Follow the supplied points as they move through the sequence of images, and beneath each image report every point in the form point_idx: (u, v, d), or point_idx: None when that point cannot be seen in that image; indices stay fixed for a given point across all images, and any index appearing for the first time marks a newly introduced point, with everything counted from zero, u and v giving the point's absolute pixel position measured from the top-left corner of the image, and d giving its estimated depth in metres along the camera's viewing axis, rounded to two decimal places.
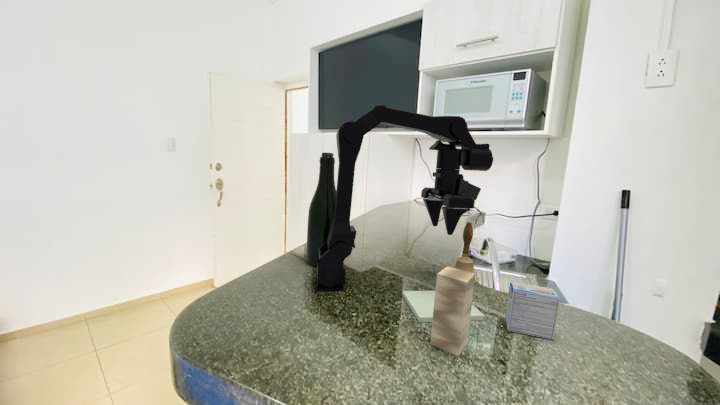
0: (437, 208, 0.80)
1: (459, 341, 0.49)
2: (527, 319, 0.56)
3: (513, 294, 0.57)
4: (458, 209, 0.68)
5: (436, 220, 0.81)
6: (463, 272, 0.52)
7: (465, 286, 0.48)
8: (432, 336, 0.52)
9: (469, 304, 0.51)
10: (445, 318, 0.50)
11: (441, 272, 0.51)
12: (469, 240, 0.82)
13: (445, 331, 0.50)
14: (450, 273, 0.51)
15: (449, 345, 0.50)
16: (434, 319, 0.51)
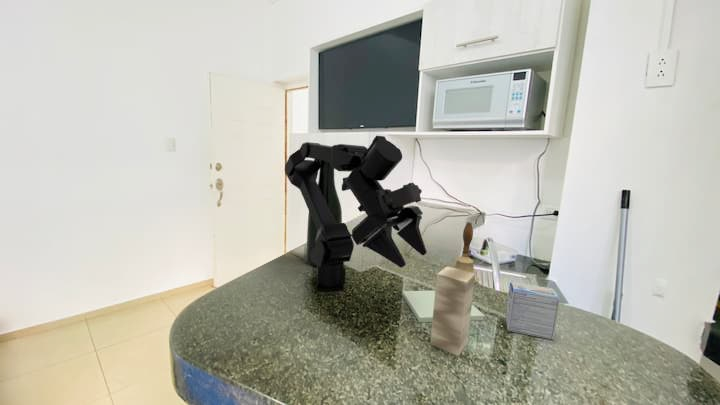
0: (412, 233, 0.61)
1: (459, 341, 0.49)
2: (527, 319, 0.56)
3: (513, 294, 0.57)
4: (371, 238, 0.52)
5: (420, 246, 0.60)
6: (463, 272, 0.52)
7: (465, 286, 0.48)
8: (432, 336, 0.52)
9: (469, 304, 0.51)
10: (445, 318, 0.50)
11: (441, 272, 0.51)
12: (469, 240, 0.82)
13: (445, 331, 0.50)
14: (450, 273, 0.51)
15: (449, 345, 0.50)
16: (434, 319, 0.51)
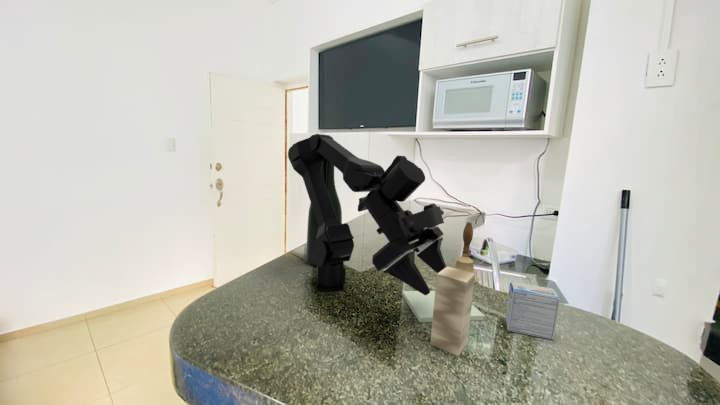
0: (434, 255, 0.58)
1: (459, 341, 0.49)
2: (527, 319, 0.56)
3: (513, 294, 0.57)
4: (393, 265, 0.49)
5: None
6: (463, 272, 0.52)
7: (465, 286, 0.48)
8: (432, 336, 0.52)
9: (469, 304, 0.51)
10: (445, 318, 0.50)
11: (441, 272, 0.51)
12: (469, 240, 0.82)
13: (445, 331, 0.50)
14: (450, 273, 0.51)
15: (449, 345, 0.50)
16: (434, 319, 0.51)
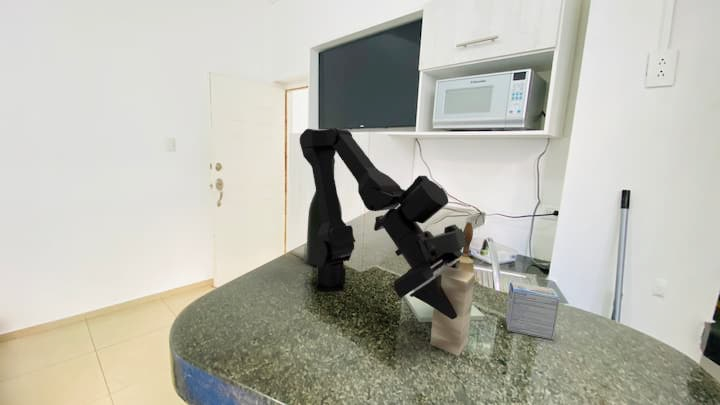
0: None
1: (459, 341, 0.49)
2: (527, 319, 0.56)
3: (513, 294, 0.57)
4: (420, 288, 0.48)
5: None
6: (463, 272, 0.52)
7: (465, 286, 0.48)
8: (432, 336, 0.52)
9: (469, 304, 0.51)
10: (445, 318, 0.50)
11: (441, 272, 0.51)
12: (469, 240, 0.82)
13: (445, 331, 0.50)
14: (450, 273, 0.51)
15: (449, 345, 0.50)
16: (434, 319, 0.51)
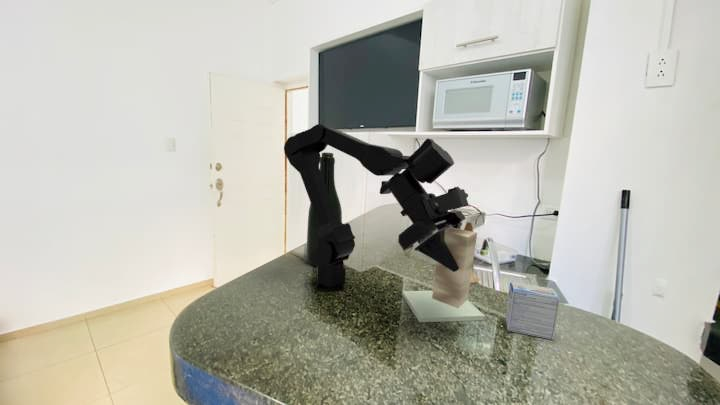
0: None
1: (459, 294, 0.52)
2: (527, 319, 0.56)
3: (513, 294, 0.57)
4: (424, 242, 0.51)
5: None
6: (465, 231, 0.55)
7: (466, 241, 0.51)
8: (434, 290, 0.55)
9: (470, 261, 0.54)
10: (447, 272, 0.53)
11: None
12: None
13: (446, 284, 0.53)
14: (453, 231, 0.54)
15: (450, 298, 0.53)
16: (436, 274, 0.54)
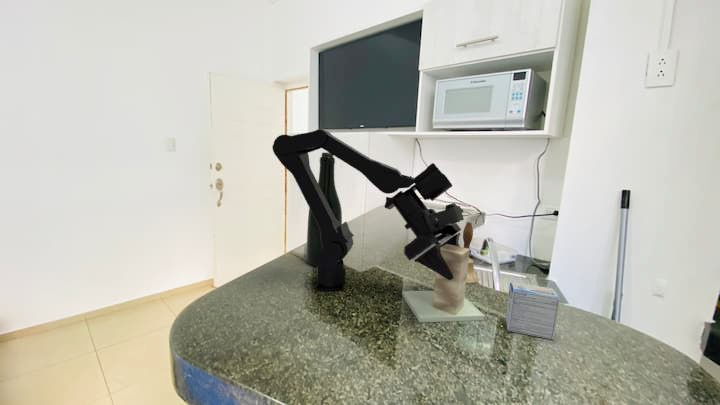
0: None
1: (456, 303, 0.60)
2: (527, 319, 0.56)
3: (513, 294, 0.57)
4: (423, 254, 0.58)
5: None
6: (459, 248, 0.63)
7: (461, 257, 0.59)
8: (434, 300, 0.63)
9: (464, 273, 0.62)
10: (445, 284, 0.62)
11: (441, 247, 0.62)
12: (469, 240, 0.82)
13: (445, 295, 0.62)
14: (449, 248, 0.62)
15: (448, 306, 0.62)
16: (436, 286, 0.63)
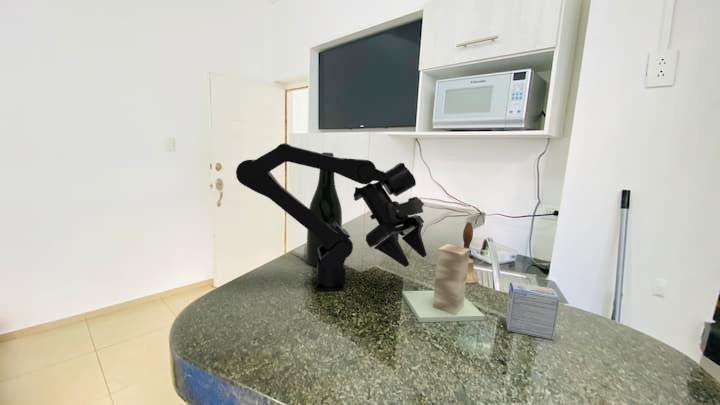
0: (415, 238, 0.73)
1: (456, 303, 0.61)
2: (527, 319, 0.56)
3: (513, 294, 0.57)
4: (381, 242, 0.63)
5: (421, 250, 0.72)
6: (460, 248, 0.63)
7: (461, 257, 0.59)
8: (434, 300, 0.63)
9: (464, 274, 0.62)
10: (445, 284, 0.62)
11: (442, 247, 0.63)
12: (469, 240, 0.82)
13: (445, 295, 0.62)
14: (449, 248, 0.63)
15: (448, 306, 0.62)
16: (436, 286, 0.63)
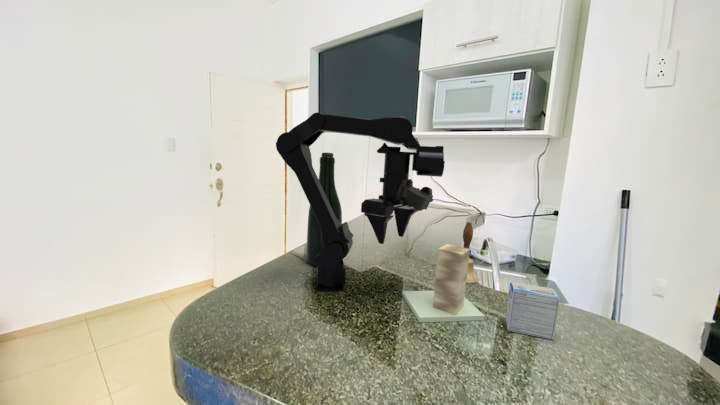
0: (404, 217, 0.74)
1: (456, 303, 0.61)
2: (527, 319, 0.56)
3: (513, 294, 0.57)
4: (373, 215, 0.63)
5: (401, 230, 0.74)
6: (460, 248, 0.63)
7: (461, 257, 0.59)
8: (434, 300, 0.63)
9: (464, 274, 0.62)
10: (445, 284, 0.62)
11: (442, 247, 0.63)
12: (469, 240, 0.82)
13: (445, 295, 0.62)
14: (449, 248, 0.63)
15: (448, 306, 0.62)
16: (436, 286, 0.63)
